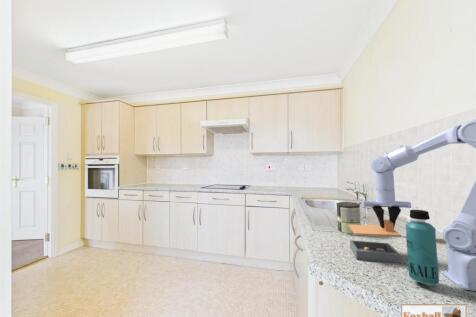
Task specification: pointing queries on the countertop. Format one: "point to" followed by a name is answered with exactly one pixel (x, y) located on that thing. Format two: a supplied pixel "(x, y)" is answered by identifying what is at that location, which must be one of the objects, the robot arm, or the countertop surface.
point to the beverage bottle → (422, 249)
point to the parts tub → (375, 251)
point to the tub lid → (375, 230)
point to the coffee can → (347, 217)
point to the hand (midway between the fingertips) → (387, 227)
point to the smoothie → (414, 219)
